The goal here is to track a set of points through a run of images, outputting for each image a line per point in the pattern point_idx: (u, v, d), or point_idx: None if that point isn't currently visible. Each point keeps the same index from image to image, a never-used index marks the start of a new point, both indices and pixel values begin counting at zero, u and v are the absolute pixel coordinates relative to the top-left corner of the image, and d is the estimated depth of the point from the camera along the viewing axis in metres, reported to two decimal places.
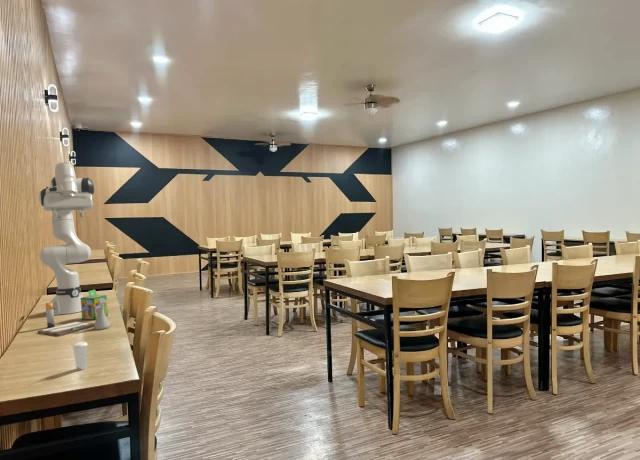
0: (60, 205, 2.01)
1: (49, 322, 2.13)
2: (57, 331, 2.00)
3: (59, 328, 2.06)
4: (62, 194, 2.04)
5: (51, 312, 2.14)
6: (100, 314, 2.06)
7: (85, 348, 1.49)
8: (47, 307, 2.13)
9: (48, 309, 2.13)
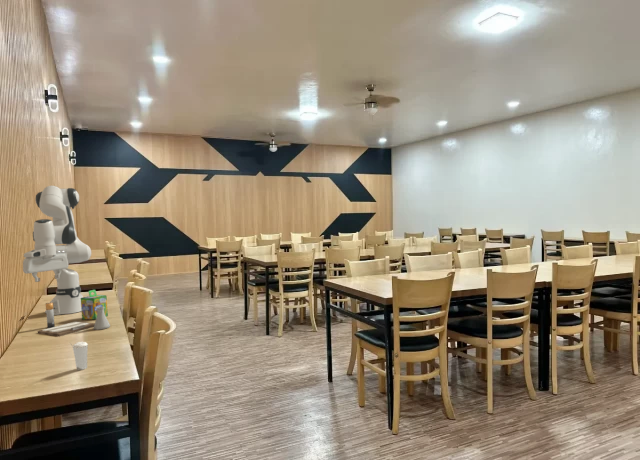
0: (41, 270, 2.10)
1: (49, 322, 2.13)
2: (57, 331, 2.00)
3: (59, 328, 2.06)
4: (43, 257, 2.10)
5: (51, 312, 2.14)
6: (100, 314, 2.06)
7: (85, 348, 1.49)
8: (47, 307, 2.13)
9: (48, 309, 2.13)
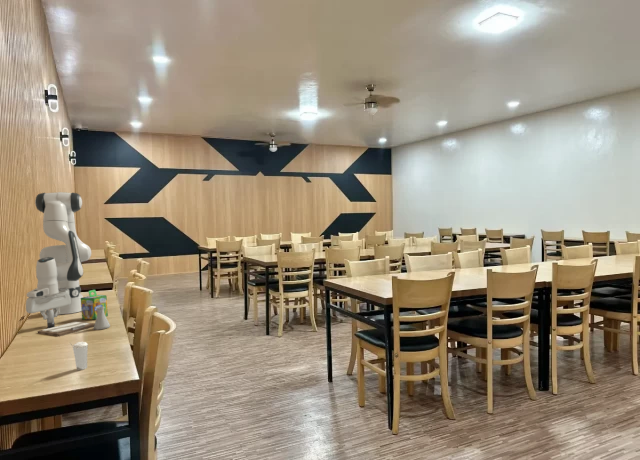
0: (44, 309, 2.11)
1: (49, 322, 2.13)
2: (57, 331, 2.00)
3: (59, 328, 2.06)
4: (46, 296, 2.11)
5: (51, 312, 2.14)
6: (100, 314, 2.06)
7: (85, 348, 1.49)
8: None
9: None
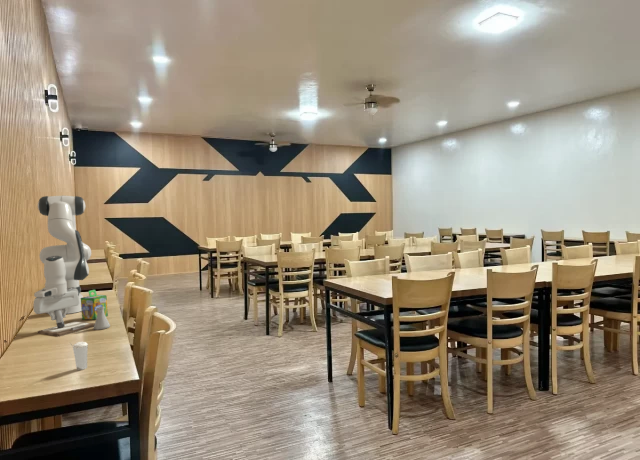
0: (52, 309, 2.04)
1: (59, 322, 2.06)
2: (57, 331, 2.00)
3: (59, 328, 2.06)
4: (54, 296, 2.04)
5: (59, 311, 2.07)
6: (100, 314, 2.06)
7: (85, 348, 1.49)
8: None
9: None
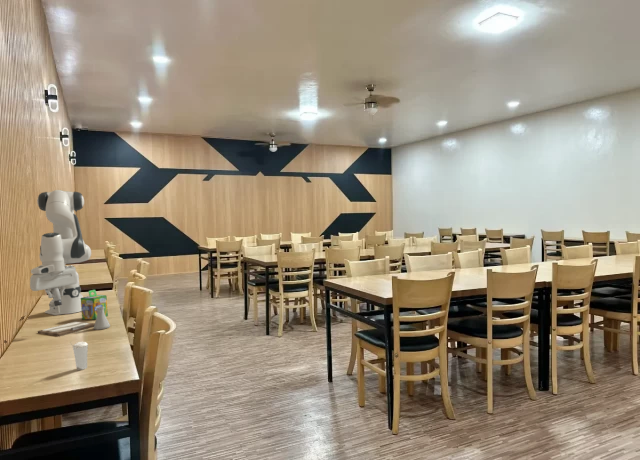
0: (49, 286, 1.99)
1: (56, 300, 2.01)
2: (57, 331, 2.00)
3: (59, 328, 2.06)
4: (52, 274, 1.99)
5: (56, 289, 2.02)
6: (100, 314, 2.06)
7: (85, 348, 1.49)
8: None
9: None
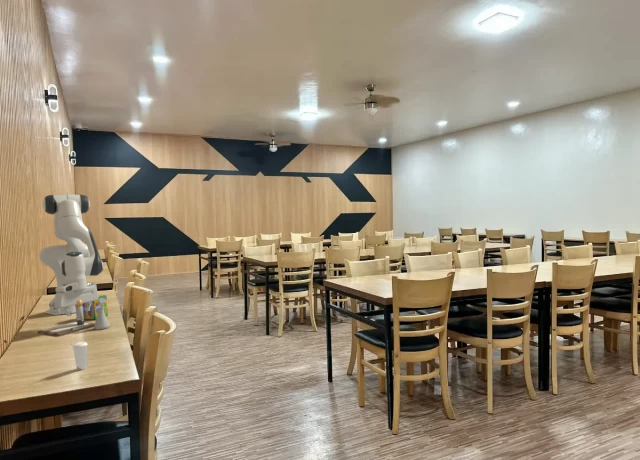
0: (73, 303, 2.08)
1: (79, 319, 2.10)
2: (57, 331, 2.00)
3: (59, 328, 2.06)
4: (75, 291, 2.09)
5: (81, 309, 2.11)
6: (100, 314, 2.06)
7: (85, 348, 1.49)
8: (77, 304, 2.10)
9: (78, 306, 2.10)
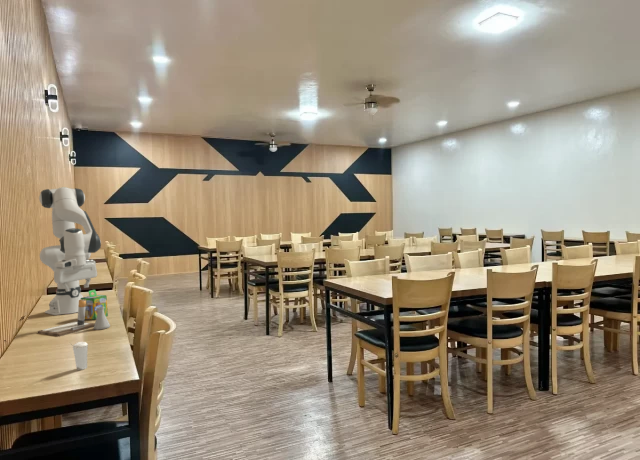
0: (72, 279, 2.09)
1: (80, 319, 2.10)
2: (57, 331, 2.00)
3: (59, 328, 2.06)
4: (74, 267, 2.10)
5: (83, 309, 2.10)
6: (100, 314, 2.06)
7: (85, 348, 1.49)
8: (80, 304, 2.09)
9: (81, 306, 2.09)
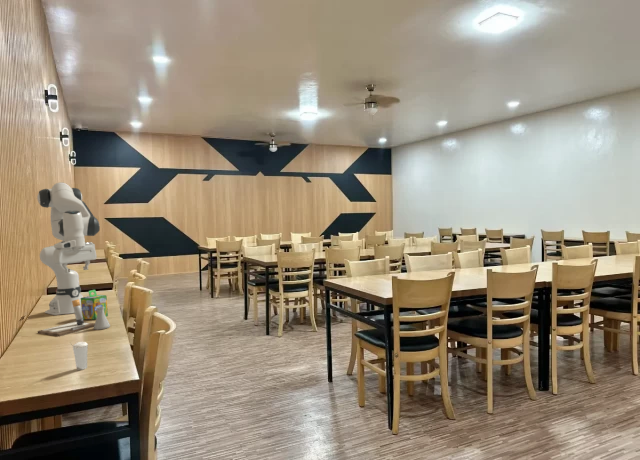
0: (71, 261, 2.10)
1: (79, 318, 2.10)
2: (57, 331, 2.00)
3: (59, 328, 2.06)
4: (73, 249, 2.11)
5: (79, 308, 2.11)
6: (100, 314, 2.06)
7: (85, 348, 1.49)
8: (74, 303, 2.11)
9: (76, 305, 2.11)
